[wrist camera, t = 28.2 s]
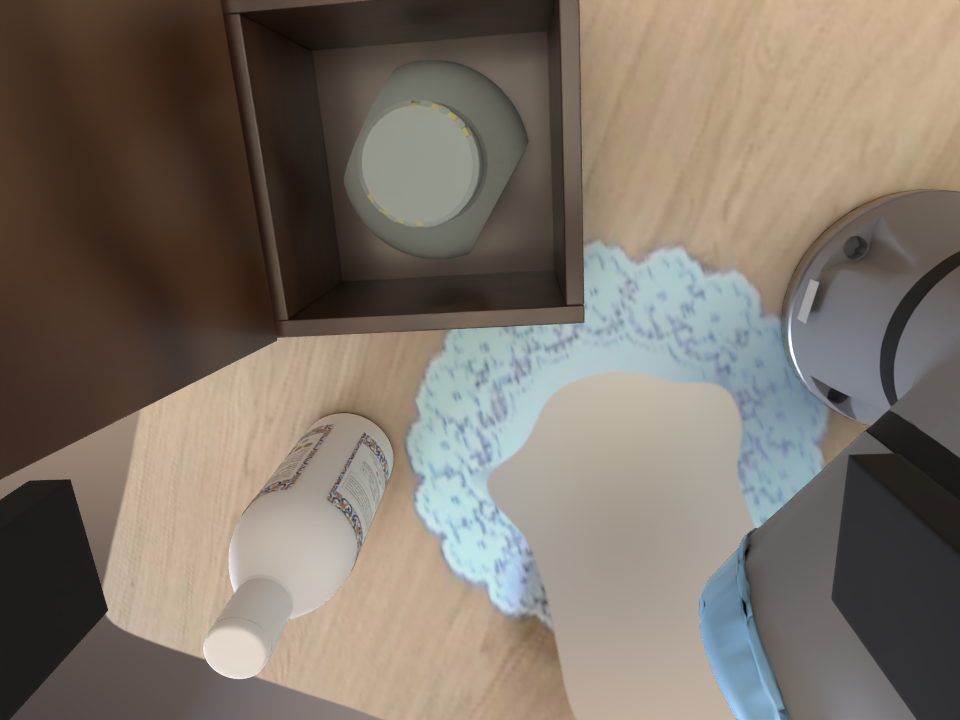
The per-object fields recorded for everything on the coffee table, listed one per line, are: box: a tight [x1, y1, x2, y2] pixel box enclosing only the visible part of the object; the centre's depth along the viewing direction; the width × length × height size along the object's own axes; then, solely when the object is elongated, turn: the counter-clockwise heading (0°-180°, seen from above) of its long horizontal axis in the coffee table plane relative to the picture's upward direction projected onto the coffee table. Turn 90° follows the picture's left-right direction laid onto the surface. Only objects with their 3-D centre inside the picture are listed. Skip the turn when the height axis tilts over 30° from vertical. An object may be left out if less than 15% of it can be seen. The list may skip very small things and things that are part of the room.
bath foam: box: [203, 413, 393, 679], centre depth 38 cm, size 7×7×20 cm
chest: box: [220, 0, 584, 338], centre depth 35 cm, size 16×16×11 cm
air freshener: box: [344, 60, 528, 259], centre depth 35 cm, size 11×8×10 cm
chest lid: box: [0, 0, 277, 479], centre depth 23 cm, size 17×16×7 cm
